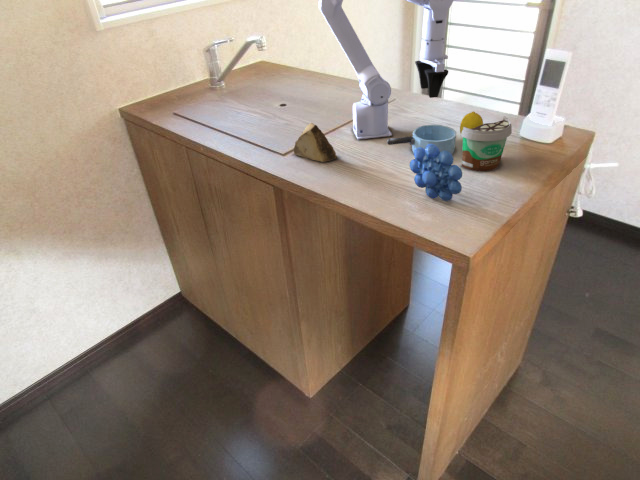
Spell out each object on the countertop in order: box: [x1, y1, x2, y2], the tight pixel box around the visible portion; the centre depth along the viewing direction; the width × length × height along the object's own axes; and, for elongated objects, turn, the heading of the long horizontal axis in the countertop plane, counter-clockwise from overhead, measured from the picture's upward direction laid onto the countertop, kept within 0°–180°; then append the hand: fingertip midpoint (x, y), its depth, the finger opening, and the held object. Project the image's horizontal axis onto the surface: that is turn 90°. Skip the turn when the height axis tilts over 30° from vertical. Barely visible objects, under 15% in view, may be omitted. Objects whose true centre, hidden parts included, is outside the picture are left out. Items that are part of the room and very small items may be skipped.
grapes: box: [408, 143, 463, 202], centre depth 90 cm, size 12×7×12 cm, turn 52°
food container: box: [460, 116, 513, 172], centre depth 101 cm, size 12×6×10 cm, turn 114°
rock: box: [293, 122, 338, 163], centre depth 113 cm, size 11×9×10 cm
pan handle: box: [386, 136, 415, 146], centre depth 111 cm, size 7×2×2 cm, turn 96°
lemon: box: [459, 111, 484, 134], centre depth 113 cm, size 6×6×8 cm
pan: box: [411, 124, 457, 155], centre depth 112 cm, size 10×10×4 cm
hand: (429, 92), depth 120 cm, fingers open, 7 cm apart
